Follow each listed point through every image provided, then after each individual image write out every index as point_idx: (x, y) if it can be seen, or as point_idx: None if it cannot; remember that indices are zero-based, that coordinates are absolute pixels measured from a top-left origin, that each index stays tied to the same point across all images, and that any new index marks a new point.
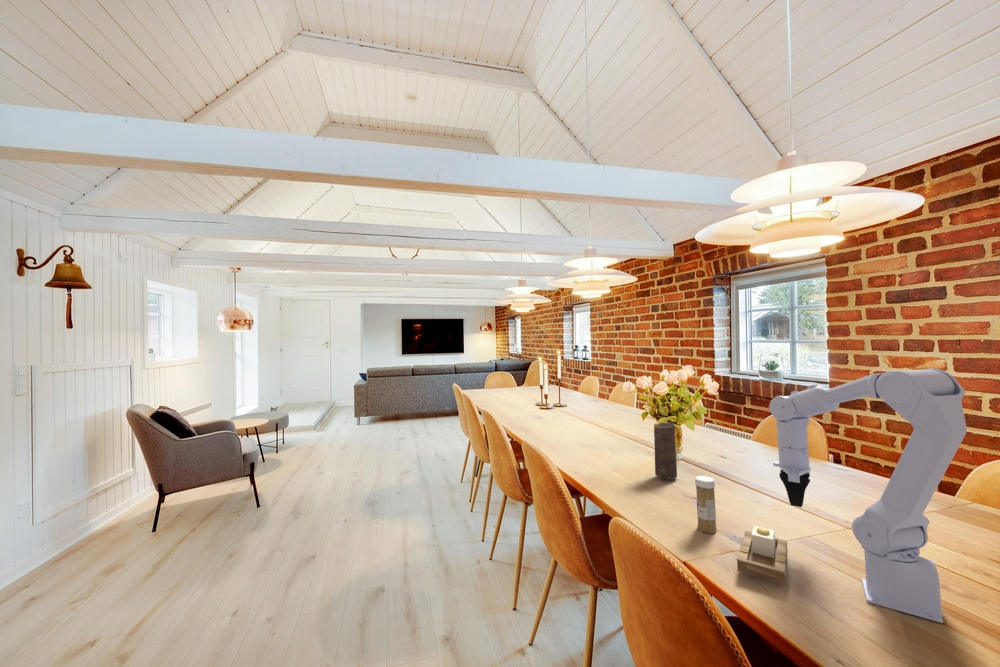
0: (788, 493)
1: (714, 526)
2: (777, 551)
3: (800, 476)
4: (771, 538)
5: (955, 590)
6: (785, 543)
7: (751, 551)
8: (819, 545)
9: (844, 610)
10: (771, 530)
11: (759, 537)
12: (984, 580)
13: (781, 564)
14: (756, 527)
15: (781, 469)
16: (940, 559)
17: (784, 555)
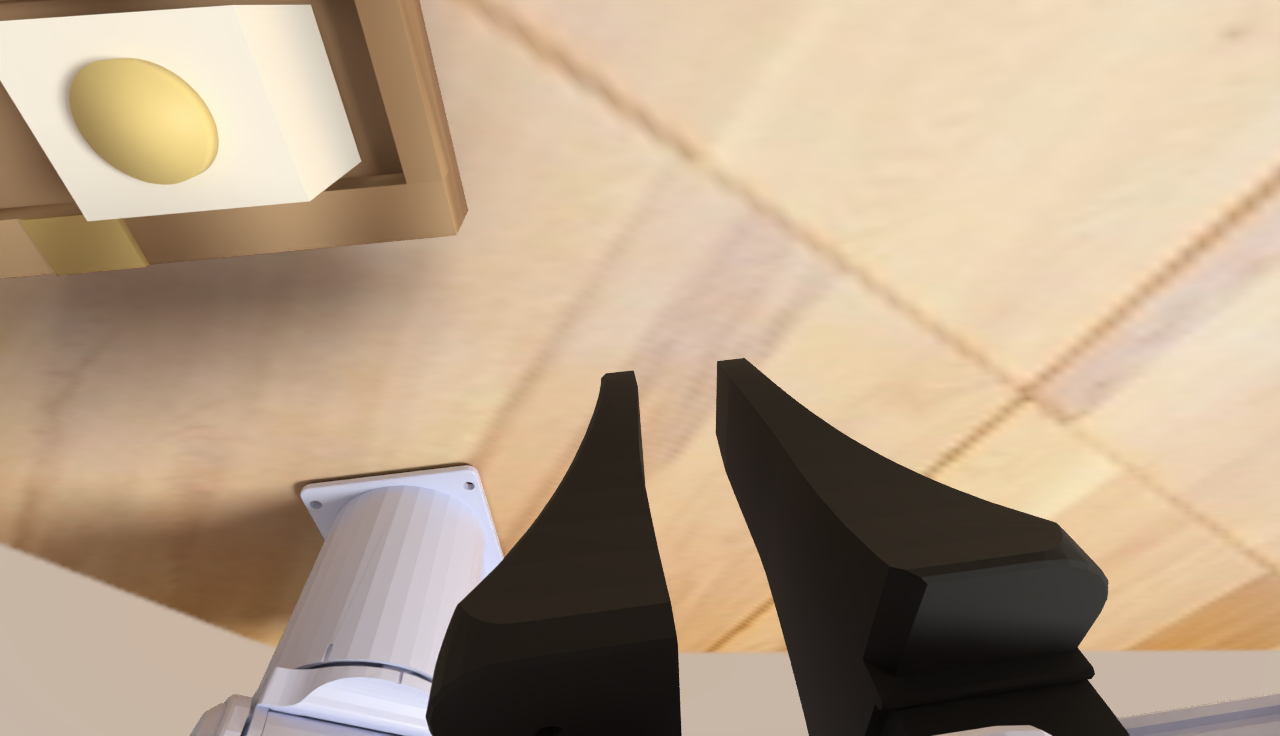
0: (577, 456)
1: None
2: None
3: (827, 723)
4: (98, 205)
5: None
6: (393, 234)
7: (132, 3)
8: (741, 315)
9: (150, 435)
10: (283, 179)
11: (23, 103)
12: (749, 645)
13: (21, 255)
14: (215, 39)
15: (1069, 573)
16: None
17: (185, 253)
